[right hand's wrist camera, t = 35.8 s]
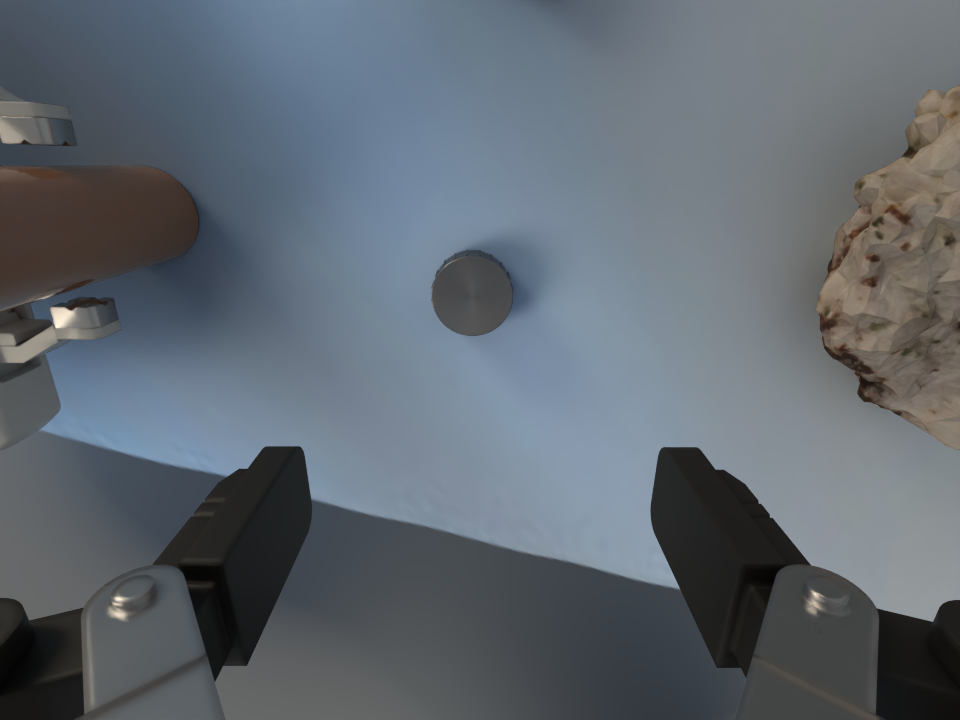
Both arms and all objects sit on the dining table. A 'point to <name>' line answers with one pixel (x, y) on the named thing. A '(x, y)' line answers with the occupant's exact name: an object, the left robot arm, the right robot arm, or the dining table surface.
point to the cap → (472, 293)
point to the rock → (904, 277)
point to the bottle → (86, 226)
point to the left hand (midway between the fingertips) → (87, 228)
